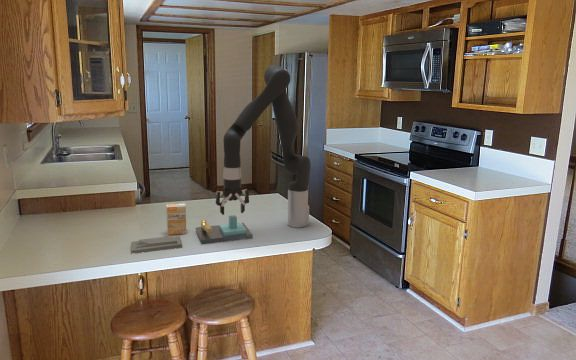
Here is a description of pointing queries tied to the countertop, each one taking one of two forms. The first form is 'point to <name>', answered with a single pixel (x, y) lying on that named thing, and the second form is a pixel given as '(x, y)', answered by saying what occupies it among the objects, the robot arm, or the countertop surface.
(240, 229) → the cover
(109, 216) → the countertop surface
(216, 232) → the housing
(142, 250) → the soap mold
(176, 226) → the supplement box
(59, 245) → the countertop surface
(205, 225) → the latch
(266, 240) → the countertop surface
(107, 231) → the countertop surface
